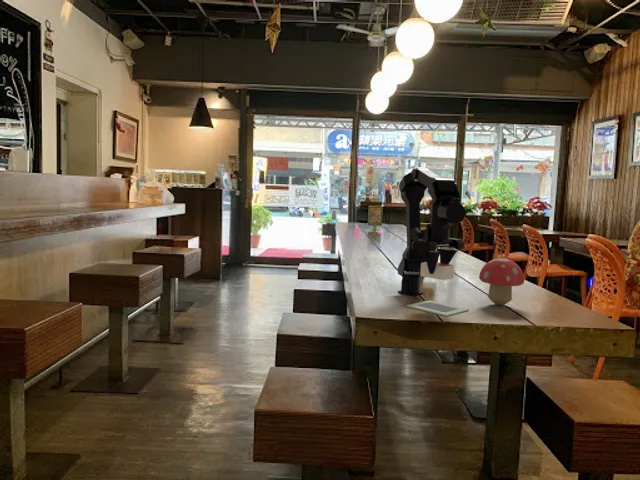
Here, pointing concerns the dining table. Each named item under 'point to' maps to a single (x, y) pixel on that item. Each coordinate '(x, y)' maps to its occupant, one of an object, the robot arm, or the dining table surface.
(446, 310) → the mat
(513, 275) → the decorative mushroom
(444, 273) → the card box
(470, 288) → the dining table surface
